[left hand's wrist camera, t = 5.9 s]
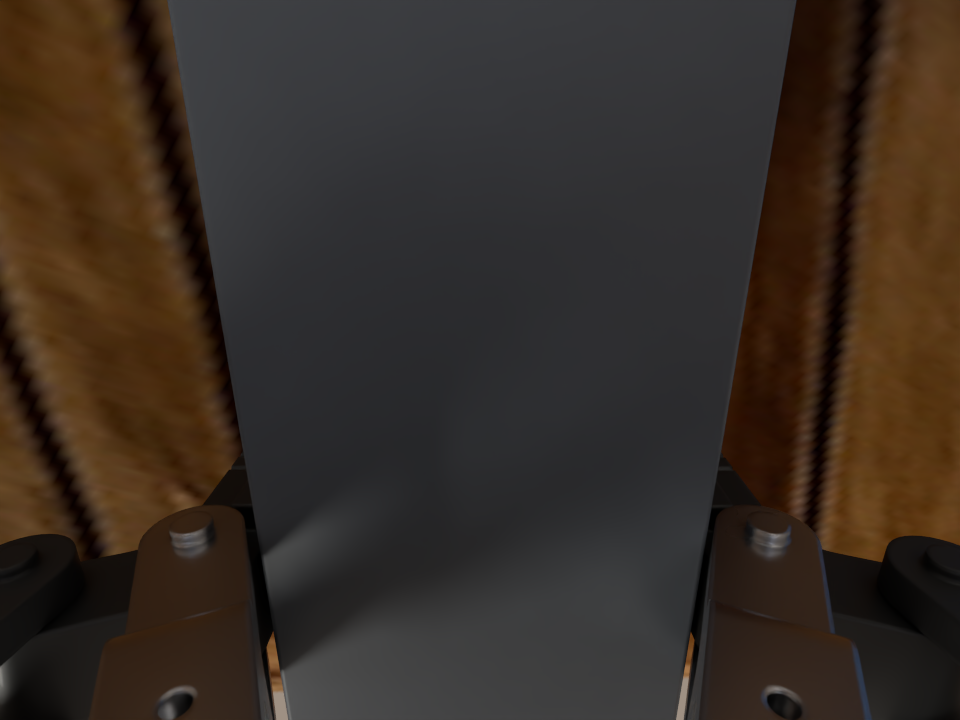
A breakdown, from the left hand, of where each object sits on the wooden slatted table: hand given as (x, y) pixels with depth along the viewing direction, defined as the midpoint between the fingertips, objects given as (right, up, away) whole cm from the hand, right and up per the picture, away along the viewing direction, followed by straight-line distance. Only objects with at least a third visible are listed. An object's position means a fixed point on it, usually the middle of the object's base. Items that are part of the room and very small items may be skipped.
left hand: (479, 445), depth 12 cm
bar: (0, +11, +1) cm, 11 cm away
